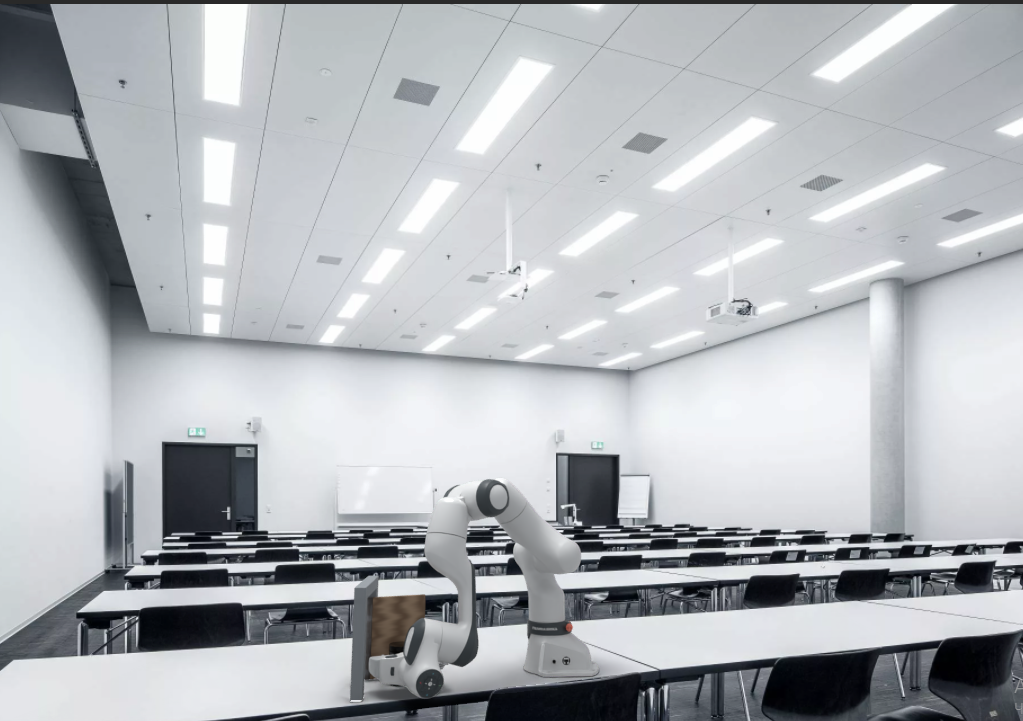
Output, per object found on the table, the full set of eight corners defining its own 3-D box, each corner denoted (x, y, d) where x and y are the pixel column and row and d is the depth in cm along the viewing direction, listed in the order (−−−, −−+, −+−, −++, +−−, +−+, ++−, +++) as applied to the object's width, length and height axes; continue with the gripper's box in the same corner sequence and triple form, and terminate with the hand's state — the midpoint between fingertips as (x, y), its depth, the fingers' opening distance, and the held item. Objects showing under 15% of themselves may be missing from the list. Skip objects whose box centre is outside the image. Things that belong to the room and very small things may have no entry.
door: (366, 681, 190) (369, 599, 194) (364, 678, 193) (367, 597, 197) (424, 675, 196) (426, 595, 200) (422, 672, 199) (424, 594, 203)
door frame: (364, 676, 197) (368, 575, 202) (375, 676, 197) (378, 575, 202) (349, 702, 173) (354, 587, 178) (361, 702, 174) (366, 587, 179)
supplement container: (408, 678, 195) (409, 640, 197) (414, 685, 189) (415, 645, 191) (385, 681, 192) (386, 642, 194) (390, 688, 186) (392, 647, 188)
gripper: (451, 651, 184) (436, 641, 197) (375, 658, 176) (365, 647, 189) (450, 676, 183) (435, 664, 196) (374, 685, 175) (364, 671, 188)
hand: (400, 656), depth 192 cm, fingers open, 8 cm apart
